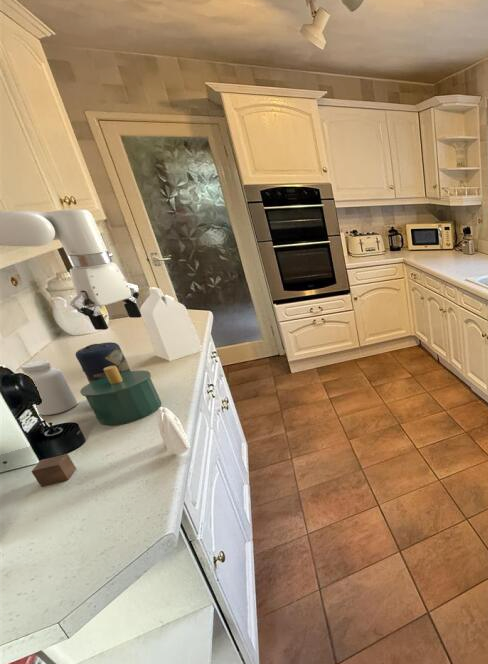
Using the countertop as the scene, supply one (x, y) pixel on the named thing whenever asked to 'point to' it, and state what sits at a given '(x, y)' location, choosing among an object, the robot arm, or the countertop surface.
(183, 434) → the white piece
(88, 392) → the tin lid
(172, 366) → the countertop surface
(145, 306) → the milk
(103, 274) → the robot arm
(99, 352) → the canister
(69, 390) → the pill bottle
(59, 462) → the block
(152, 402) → the tea tin
